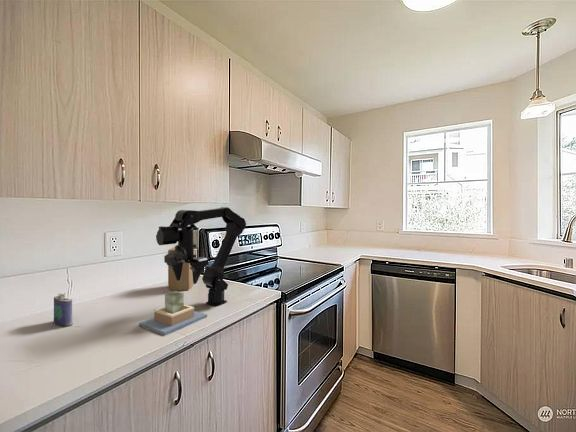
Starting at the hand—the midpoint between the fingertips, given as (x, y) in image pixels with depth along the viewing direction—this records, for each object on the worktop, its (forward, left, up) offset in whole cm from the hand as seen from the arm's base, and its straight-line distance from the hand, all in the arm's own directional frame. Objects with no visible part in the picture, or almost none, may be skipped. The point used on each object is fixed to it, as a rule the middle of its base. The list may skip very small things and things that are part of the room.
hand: (186, 282), depth 112 cm
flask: (+30, -28, -12) cm, 43 cm away
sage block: (+8, +3, -8) cm, 12 cm away
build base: (+8, +3, -12) cm, 15 cm away
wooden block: (-21, -29, -12) cm, 37 cm away
